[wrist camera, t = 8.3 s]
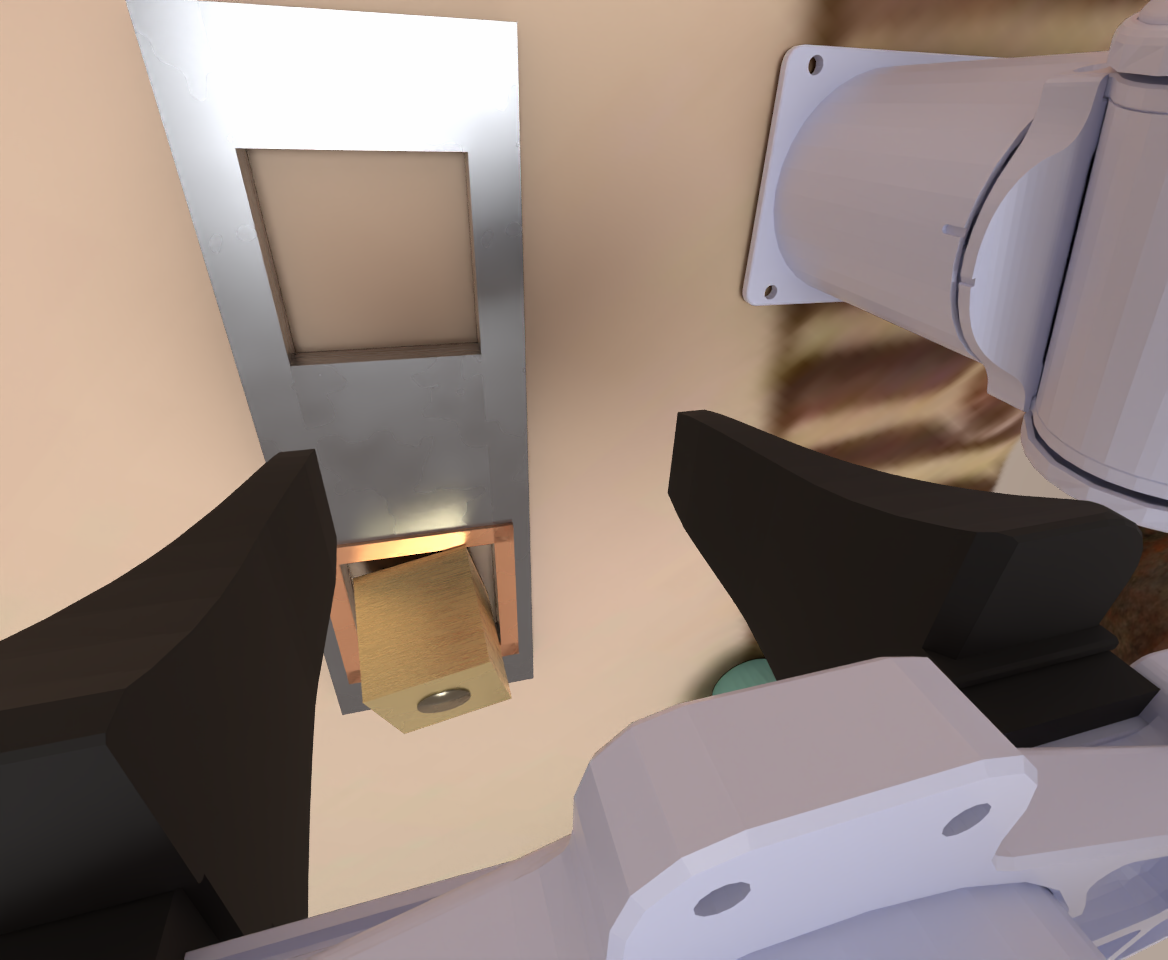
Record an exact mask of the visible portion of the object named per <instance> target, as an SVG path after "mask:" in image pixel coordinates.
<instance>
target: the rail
mask: <svg viewBox="0 0 1168 960" xmlns="http://www.w3.org/2000/svg"><path fill="white" fill-rule="evenodd" d="M125 1H126V4H127V7H128V11H129V14H130V17H131V20H132V24H133V27H134V30H135V34H136V37H137V40H138V44H139V47H140V50H141V53H142V57H143V60H144V63H145V67H146V70H147V73H148V76H149V80H150V83H151V86H152V90H153V93H154V96H155V99H156V103H157V106H158V109H159V113H160V116H161V119H162V123H163V126H164V129H165V132H166V136H167V139H168V142H169V146H170V149H171V152H172V155H173V159H174V162H175V165H176V169H177V172H178V175H179V178H180V182H181V185H182V188H183V192H184V195H185V198H186V201H187V205H188V208H189V211H190V215H191V218H192V221H193V225H194V228H195V231H196V234H197V238H198V241H199V244H200V248H201V251H202V254H203V257H204V261H205V264H206V267H207V271H208V274H209V277H210V280H211V284H212V287H213V290H214V294H215V297H216V300H217V304H218V307H219V310H220V313H221V317H222V320H223V323H224V327H225V330H226V333H227V336H228V340H229V343H230V346H231V350H232V353H233V356H234V359H235V363H236V366H237V369H238V373H239V376H240V379H241V383H242V386H243V389H244V392H245V396H246V399H247V402H248V406H249V409H250V412H251V415H252V419H253V422H254V425H255V429H256V432H257V435H258V438H259V442H260V445H261V448H262V452H263V455H264V458H265V462H267V461H269V460H270V459H271V458H272V457H273V456H275V455H276V454H277V453H279V452H287V451H297V450H307V449H315V451H316V455H317V459H318V463H319V467H320V471H321V475H322V479H323V483H324V487H325V491H326V496H327V500H328V504H329V508H330V512H331V516H332V520H333V524H334V528H335V532H336V536H337V564H336V584H335V590H334V596H333V602H332V608H331V614H330V620H329V625H328V631H327V636H326V642H325V648H324V656H325V659H326V662H327V666H328V669H329V672H330V675H331V679H332V682H333V685H334V689H335V692H336V695H337V698H338V702H339V705H340V708H341V712H342V715H344V714H350V713H355V712H360V711H365V710H370V708H369V707H368V706H366V705H365V704H363V699H362V686H361V673H360V660H359V647H358V634H357V621H356V608H355V595H354V591H353V587H352V583H351V579H350V574H349V570H348V566H347V563H354V562H362V561H369V560H376V559H384V558H391V557H398V556H406V555H413V554H420V553H428V552H435V551H442V550H449V549H453V548H457V547H460V546H464V545H465V546H466V547H471V546H479V545H486V544H492V556H493V570H494V584H495V599H496V613H497V623H495V627H496V632H497V636H498V641H499V645H500V649H501V654H502V658H503V663H504V667H505V671H506V676H507V680H508V683H511V682H516V681H521V680H526V679H531V678H533V643H532V603H531V563H530V523H529V483H528V443H527V403H526V363H525V324H524V284H523V244H522V204H521V164H520V124H519V84H518V44H517V22H505V21H490V20H475V19H461V18H446V17H431V16H416V15H402V14H387V13H372V12H358V11H343V10H328V9H314V8H299V7H284V6H270V5H255V4H240V3H225V2H211V1H196V0H125ZM246 148H257V149H317V150H378V151H439V152H464V154H465V168H466V183H467V197H468V211H469V226H470V240H471V254H472V269H473V283H474V297H475V312H476V326H477V340H478V343H460V344H443V345H426V346H408V347H391V348H374V349H356V350H339V351H322V352H304V353H295V349H294V345H293V341H292V337H291V332H290V328H289V324H288V320H287V316H286V312H285V308H284V304H283V300H282V296H281V291H280V287H279V283H278V279H277V275H276V271H275V267H274V263H273V259H272V255H271V250H270V246H269V242H268V238H267V234H266V230H265V226H264V222H263V218H262V214H261V209H260V205H259V201H258V197H257V193H256V189H255V185H254V181H253V177H252V173H251V168H250V164H249V160H248V156H247V152H246Z"/></svg>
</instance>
